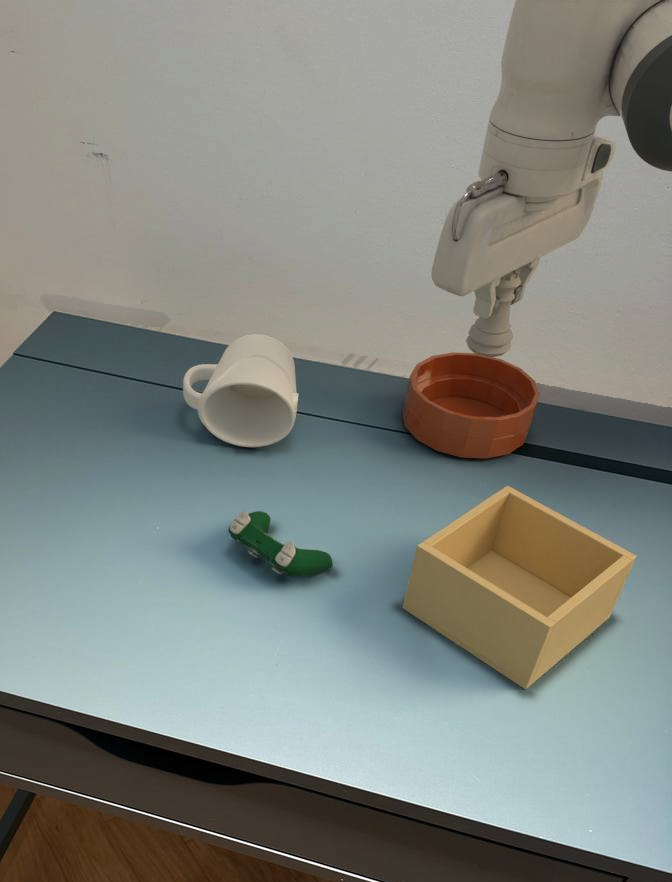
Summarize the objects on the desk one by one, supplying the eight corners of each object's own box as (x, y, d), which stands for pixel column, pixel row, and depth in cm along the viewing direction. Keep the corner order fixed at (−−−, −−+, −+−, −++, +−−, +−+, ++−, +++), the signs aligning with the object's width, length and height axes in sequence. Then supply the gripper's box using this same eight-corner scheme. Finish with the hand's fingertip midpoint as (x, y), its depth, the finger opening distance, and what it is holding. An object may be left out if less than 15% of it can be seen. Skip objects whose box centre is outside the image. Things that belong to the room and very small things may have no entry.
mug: (298, 405, 108) (306, 338, 102) (290, 454, 101) (298, 385, 96) (189, 393, 109) (191, 326, 104) (175, 441, 103) (176, 372, 97)
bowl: (451, 380, 112) (461, 340, 109) (550, 430, 106) (563, 388, 102) (377, 422, 106) (385, 380, 103) (477, 477, 100) (489, 434, 96)
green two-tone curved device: (243, 546, 94) (212, 530, 89) (265, 512, 93) (235, 494, 88) (315, 596, 89) (287, 582, 84) (339, 560, 88) (312, 544, 83)
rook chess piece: (500, 334, 101) (518, 258, 96) (517, 356, 98) (538, 279, 93) (458, 338, 101) (474, 261, 95) (474, 360, 98) (492, 282, 92)
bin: (488, 546, 92) (507, 484, 87) (609, 618, 85) (637, 555, 80) (402, 608, 86) (417, 545, 81) (525, 689, 79) (550, 627, 74)
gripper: (492, 200, 80) (458, 356, 90) (626, 141, 90) (582, 287, 100) (430, 178, 83) (403, 330, 93) (566, 123, 93) (529, 266, 103)
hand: (497, 307), depth 97 cm, fingers closed on rook chess piece, 3 cm apart
